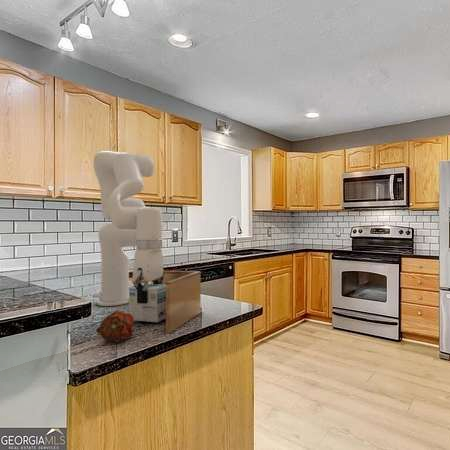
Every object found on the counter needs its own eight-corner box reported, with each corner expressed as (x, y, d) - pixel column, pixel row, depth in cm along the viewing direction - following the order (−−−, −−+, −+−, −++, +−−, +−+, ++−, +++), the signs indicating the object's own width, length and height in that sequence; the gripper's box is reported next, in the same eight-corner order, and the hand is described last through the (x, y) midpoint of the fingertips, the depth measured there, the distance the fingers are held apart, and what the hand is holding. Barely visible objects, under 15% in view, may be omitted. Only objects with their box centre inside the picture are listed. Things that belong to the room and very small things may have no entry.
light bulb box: (170, 316, 107) (170, 284, 107) (157, 323, 100) (157, 288, 100) (142, 314, 109) (142, 282, 109) (127, 320, 102) (127, 286, 102)
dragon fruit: (120, 353, 83) (109, 346, 92) (147, 327, 88) (134, 323, 97) (96, 330, 80) (87, 326, 89) (126, 305, 86) (115, 303, 94)
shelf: (125, 330, 96) (124, 280, 96) (163, 311, 116) (163, 270, 116) (170, 332, 94) (169, 282, 94) (201, 313, 114) (200, 271, 114)
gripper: (154, 243, 113) (154, 293, 114) (120, 247, 96) (120, 306, 96) (174, 243, 112) (174, 294, 113) (143, 247, 95) (143, 307, 95)
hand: (149, 299), depth 104 cm, fingers closed on light bulb box, 6 cm apart
